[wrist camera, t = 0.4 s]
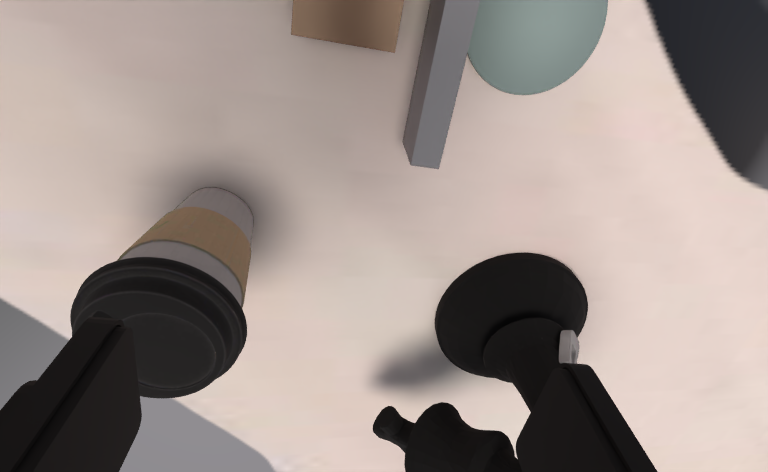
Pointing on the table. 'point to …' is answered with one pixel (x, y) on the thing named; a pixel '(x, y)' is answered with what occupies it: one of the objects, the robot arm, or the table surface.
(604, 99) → the table surface
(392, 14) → the cube
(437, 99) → the bar
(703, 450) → the table surface
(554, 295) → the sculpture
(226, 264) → the coffee cup
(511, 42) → the mat
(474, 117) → the table surface
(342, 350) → the table surface
